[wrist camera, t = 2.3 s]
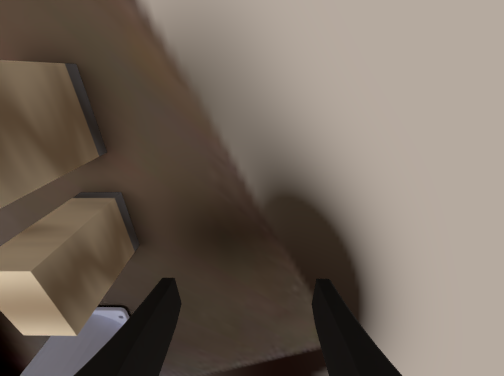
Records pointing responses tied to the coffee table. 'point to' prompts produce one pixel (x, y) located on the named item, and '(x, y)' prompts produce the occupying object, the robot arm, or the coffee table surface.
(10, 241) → the beech tile
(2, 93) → the beech tile
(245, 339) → the coffee table surface
